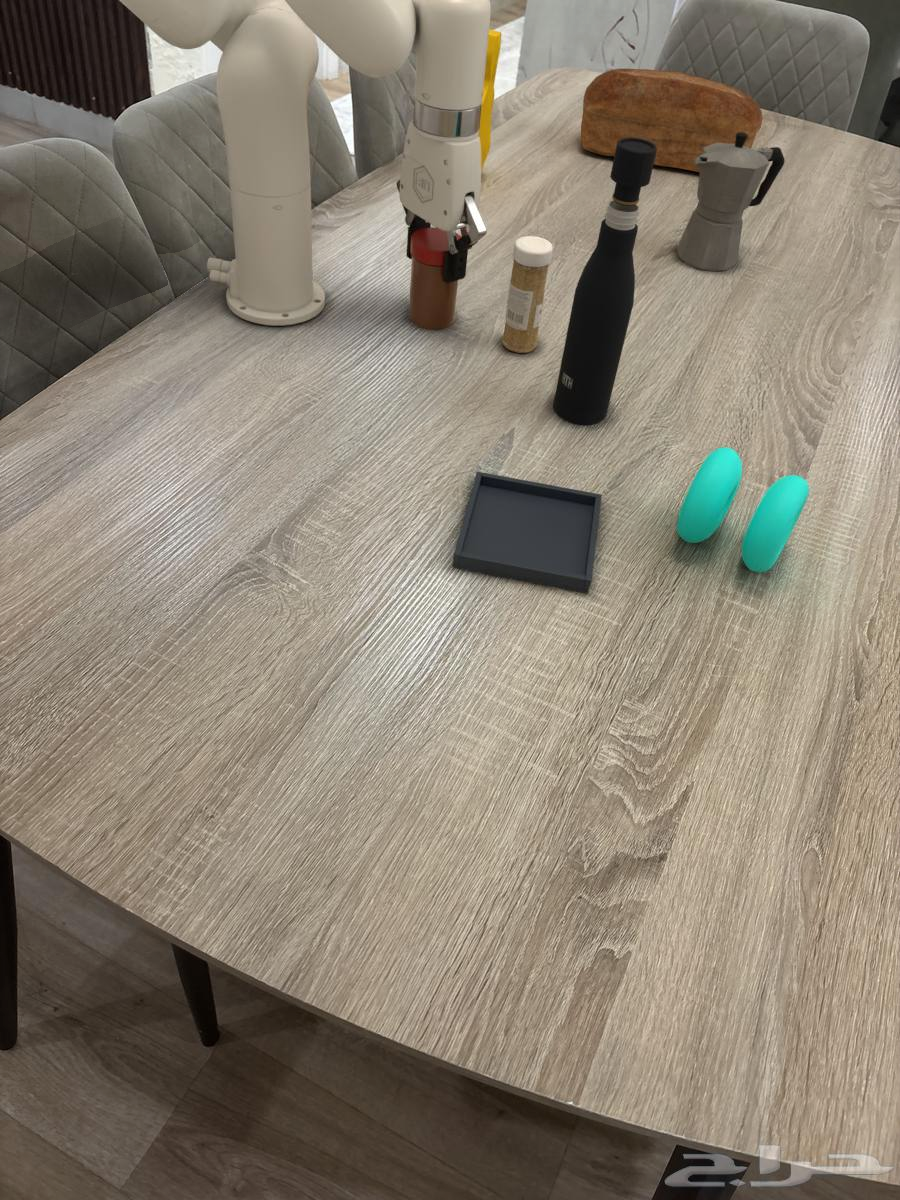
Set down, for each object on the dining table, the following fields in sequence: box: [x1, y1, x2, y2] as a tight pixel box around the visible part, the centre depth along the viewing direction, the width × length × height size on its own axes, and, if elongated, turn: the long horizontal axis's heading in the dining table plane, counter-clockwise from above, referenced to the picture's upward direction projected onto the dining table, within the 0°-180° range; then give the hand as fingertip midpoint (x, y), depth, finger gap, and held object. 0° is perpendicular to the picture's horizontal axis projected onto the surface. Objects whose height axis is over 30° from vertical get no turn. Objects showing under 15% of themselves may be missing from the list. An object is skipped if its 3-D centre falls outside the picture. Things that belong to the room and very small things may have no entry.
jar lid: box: [410, 226, 462, 266], centre depth 116 cm, size 6×6×2 cm
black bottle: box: [552, 138, 657, 426], centre depth 100 cm, size 6×6×30 cm
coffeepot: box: [676, 132, 786, 272], centre depth 136 cm, size 15×9×18 cm, turn 113°
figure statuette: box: [478, 28, 502, 173], centre depth 147 cm, size 18×8×22 cm, turn 159°
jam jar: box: [408, 256, 459, 330], centre depth 119 cm, size 6×6×10 cm
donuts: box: [676, 446, 810, 573], centre depth 92 cm, size 10×10×10 cm
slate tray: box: [452, 471, 603, 594], centre depth 94 cm, size 13×13×2 cm
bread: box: [580, 68, 763, 173], centre depth 164 cm, size 12×31×14 cm, turn 76°
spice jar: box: [501, 235, 554, 354], centre depth 115 cm, size 5×5×13 cm
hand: (435, 266), depth 118 cm, fingers closed on jar lid, 6 cm apart
